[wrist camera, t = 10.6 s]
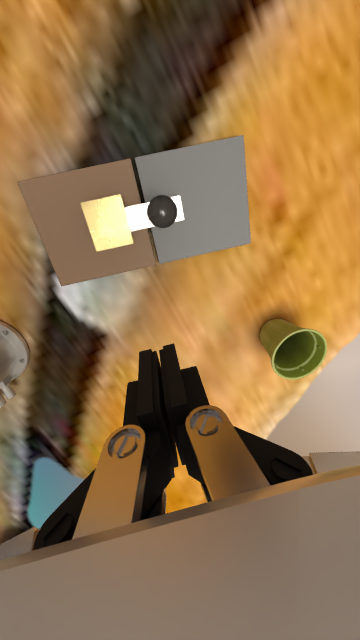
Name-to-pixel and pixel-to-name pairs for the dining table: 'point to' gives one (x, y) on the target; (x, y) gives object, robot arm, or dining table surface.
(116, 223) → the block
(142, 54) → the dining table surface
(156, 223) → the bolt
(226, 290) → the dining table surface
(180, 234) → the lock base
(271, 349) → the plant pot
